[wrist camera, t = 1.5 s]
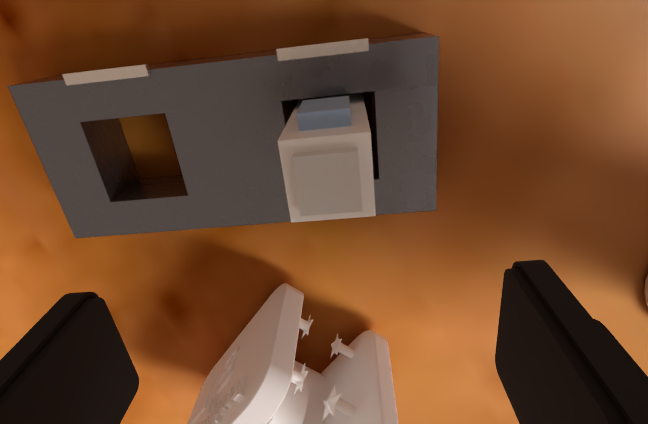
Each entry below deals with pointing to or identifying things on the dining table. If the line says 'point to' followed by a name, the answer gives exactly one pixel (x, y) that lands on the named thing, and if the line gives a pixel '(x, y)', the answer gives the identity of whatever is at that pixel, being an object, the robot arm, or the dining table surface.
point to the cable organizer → (296, 375)
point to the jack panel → (228, 132)
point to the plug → (328, 159)
